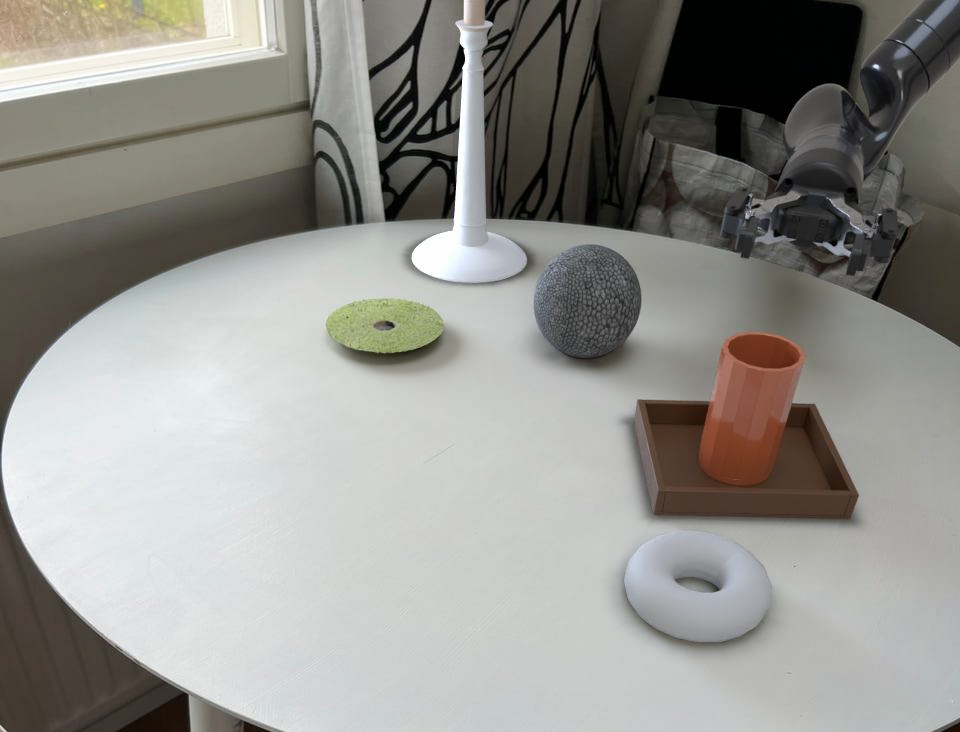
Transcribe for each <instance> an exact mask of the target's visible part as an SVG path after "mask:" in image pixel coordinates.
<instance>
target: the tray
mask: <svg viewBox="0 0 960 732" xmlns="http://www.w3.org/2000/svg"><path fill="white" fill-rule="evenodd" d="M709 403H710V400H680V399H677V400H676V399H641V398H640V399H639V398H638V399H636V405H635V409H634V411H635V412H634V418H633V426H634V431H635V436H636V440H637V445H638V449H639V454H640V459H641V463H642V468H643V473H644V477H645V482H646V486H647V487H646V488H647V491H648V495H649V500H650V504H651V505H650V506H651V510H652V514H653V515H654V516H688V517H691V516H692V517H693V516H694V517H730V518H731V517H733V518H734V517H735V518H738V517H739V518H778V519H779V518H781V519H819V520H820V519H821V520H823V519H825V520H827V519H828V520H851V518H852V515H853V514H854V513H853V512H854V510H855V507H856V504H857V502H858V499H859V497H860V494H859V492H858V490H857V488H856V485H855V483H854V482H853V480H852V478H851V476H850V473H849V471H848V469H847V467H846V465H845V463H844V461H843V459H842V457H841V455H840V452H839V451H838V448H837V446H836V445H835V443H834V440H833V438H832V436H831V434H830V431H829V430H828V428H827V426H826V424H825V422H824V420H823V418H822V416H821V414H820V412H819V409H818V407H817V405H816V403H798V402H794V403H793V402H792V406H791V409H790V413H789V416H788V419H787V423H786V426H785V430H784V433H783V437H782V440H781V443H780V447H779V450H778V454H777V457H776V461H775V464H774V467H773V470H772V473H771V475H770V477H769V478H768V479H766V480H765V481H763V482H761V483H758V484H755V485H747V486H740V485H731V484H727V483H723V482H720V481H718V480H716V479H713V478H712V477H710V476H708V475H707V474H706V473H705V472H704V471H703V470H702V469H701V468H700V466H699V464H698V455H699V448H700V444H701V439H702V435H703V430H704V426H705V421H706V417H707V412H708V408H709Z"/></svg>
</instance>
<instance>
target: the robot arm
mask: <svg viewBox="0 0 960 732" xmlns="http://www.w3.org/2000/svg"><path fill="white" fill-rule="evenodd" d="M959 61H960V0H921V1H919V2H918V3H917V5H916V6H915V7H914V8H913V9H912V10H911V11H910V12H909V13H908V14H907V15H906V16H905V17H904V18H903V19H902V20H901V21H900V22H899V23H898V24H897V25H896V26H895V27H894V28H893V29H892V30H891V31H890V32H889V34H887V36H886V37H884V38H883V39H882V41H881V42H880V43H878V45H877V46H876V47H875V48H874V49H873V50H872V51H871V52H870V53H869V54H868V55H867V56H866V58H865V59H864V61H863V62H862V64H861V67H860V70H859V81H860V86H861V89H862V91H863V94H864V97H865V100H866V103H867V106H868V116H867V115H866V114H865V112H863V111H864V110H862V108H861V107H860V106H859V104H858V103H857V102H856V100H855V99H854V98H853V96H852V95H851V93H850V92H849V91H848V90H847V89H846V88H845V87H843V86H841V85H840V84H836V83H824V84H820V85H818V86H816V87H814V88H812V89H811V90H809V91H808V92H806V93H805V94H804V95H803V96H801V98H799V100H798V101H797V102H796V103H795V104H794V107H793V108H792V109H791V111H790V113H789V114H788V116H787V117H786V120H785V123H784V127H783V132H782V144H783V148H784V152H785V158H786V160H787V161H786V164H785V166H784V167H783V169H782V171H781V175H780V176H779V179H778V181H777V185H776V187H775V189H774V192H773V193H772V194H769V195H768V196H767V197H766V198H765V199H759V198H754V193H751V191H752V189H751V188H749V187H747V186H739V187H737V188H736V189H735V191H734V193H732V195H731V197H730V199H728V201H727V202H726V204H725V206H724V211H723V217H722V222H721V225H720V230H719V237H721V238H723V239H732V238H734V237H735V236H736V240H735V244H734V250H735V252H739V253H740V258H741V259H744V260H745V259H746V260H749V259H750V257H751V254H752V252H753V249H754V246H755V244H757V243H759V242H760V243H762V244H765V245H766V246H769V245H773V244H776V243H780V242H783V241H786V242H787V243H789V244H791V245H793V246H795V247H798V248H803V249H817V248H821V247H823V248H825V249H826V250H828V251H829V252H830V253H832V254H833V255H835V256H836V257H839V256H840V257H841V256H846V257H847V258H848V261H847V266H846V271H845V276H849V277H855V276H856V273H857V272H862V273H863V272H864V271H866V269H867V266H868V262H869V259H870V258H872V257H873V260H874V261H875V262H877V263H879V264H887V263H889V262H890V259H891V254H892V251H893V249H894V245H895V241H896V239H897V238H898V235H899V221H898V211H897V210H896V209H894V208H892V207H884V208H882V210H881V212H877V213H876V215H868V214H864V211H863V209H862V207H860V201H861V196H862V191H863V186H864V182H865V181H866V180H867V179H868V177H870V176H871V175H872V173H873V172H874V171H875V169H876V168H877V166H878V165H879V163H880V161H881V160H882V159H883V157H884V155H885V153H887V151H888V148H889V147H890V146H891V143H892V141H893V140H894V138H895V136H896V134H897V133H898V131H899V129H900V128H901V127H902V126H903V123H904V122H905V121H906V119H907V117H908V116H909V115H910V113H911V112H912V111H913V110H914V108H915V107H916V106H917V104H918V103H919V102H920V101H921V100H922V99H923V98H924V97H925V96H926V95H927V94H928V93H929V92H930V91H931V90H932V89H933V88H934V87H935V86H936V85H937V84H938V83H939V82H940V81H941V80H942V79H943V78H944V77H945V75H947V74H948V73H949V72H950V71H951V70H952V69H953V68H954V66H955V65H956V64H957V63H958V62H959Z"/></svg>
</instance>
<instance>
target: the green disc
mask: <svg viewBox="0 0 960 732" xmlns="http://www.w3.org/2000/svg"><path fill="white" fill-rule="evenodd" d="M325 329H326V332H327V333H328V335H329V336H330V337H331V338H332V339H333V340H334V341H336V342H337V343H339V344H341V345H343V346H344V347H346V348H351V349H352V350H356V351H363V352H372V353H376V354H380V353H382V354H387V353H388V354H395V353H401V352H407V351H413V350H417V349H418V348H422V347H423V346H427V345H429V344H430V343H432V342H433V341H435V340H436V339H438V337H440V336H441V335H442V333H443V331H444V319H443V318H442V316H441V315H440V313H438V311H436V310H434V309H433V308H431V307H430V306H429V305H424V304H423V303H420V302H417V301H413V300H407V299H400V298H391V297H390V298H370V299H369V298H368V299H362V300H357V301H353V302H350V303H348V304H345V305H343V306H341V307H339V308H337V309H335V310H334V311H333V312H332V313H331V314H330V315H329V316H328V318H327V319H326V322H325Z"/></svg>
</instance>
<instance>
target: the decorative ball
mask: <svg viewBox="0 0 960 732" xmlns="http://www.w3.org/2000/svg"><path fill="white" fill-rule="evenodd" d="M641 308H642V289H641V283H640V281H639V278H638V275H637V273H636V271H635V269H634V268H633V266H632V265H631V263H630V262H629V261H628V260H627V259H626V258H625V257H624V256H623V255H621V254H620V253H619V252H617V251H615V250H613V249H612V248H610V247H607V246H604V245H600V244H594V243H593V244H592V243H585V244H579V245H575V246H572V247H569V248H567V249H565V250H563V251H561V252H559V253H558V254H557V255H556V256H554V257H553V258H552V259H550V261H549V262H548V263H547V264H546V265H545V266H544V268H543V270H542V272H541V273H540V275H539V277H538V278H537V282H536V285H535V289H534V294H533V314H534V318H535V322H536V325H537V327H538V329H539V331H540V333H541V335H542V336H543V338H544V339H545V340H546V341H547V342H548V343H549V345H551V346H552V347H553V348H554V349H556V350H557V351H559V352H561V353H562V354H564V355H567V356H570V357H573V358H577V359H578V358H579V359H592V358H598V357H601V356H605V355H607V354H609V353H610V352H611V353H612V352H613V351H614V350H616V349H617V348H619V347H620V346H621V345H622V344H623V343H625V341H627V339H628V338H629V337H630V335H631V334H632V332H633V331H634V329H635V328H636V325H637V323H638V320H639V317H640V314H641Z"/></svg>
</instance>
